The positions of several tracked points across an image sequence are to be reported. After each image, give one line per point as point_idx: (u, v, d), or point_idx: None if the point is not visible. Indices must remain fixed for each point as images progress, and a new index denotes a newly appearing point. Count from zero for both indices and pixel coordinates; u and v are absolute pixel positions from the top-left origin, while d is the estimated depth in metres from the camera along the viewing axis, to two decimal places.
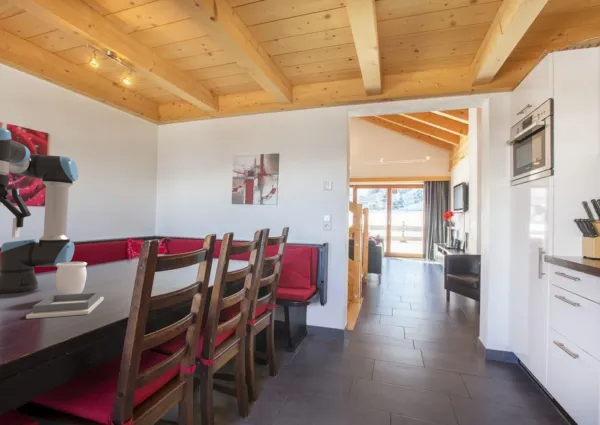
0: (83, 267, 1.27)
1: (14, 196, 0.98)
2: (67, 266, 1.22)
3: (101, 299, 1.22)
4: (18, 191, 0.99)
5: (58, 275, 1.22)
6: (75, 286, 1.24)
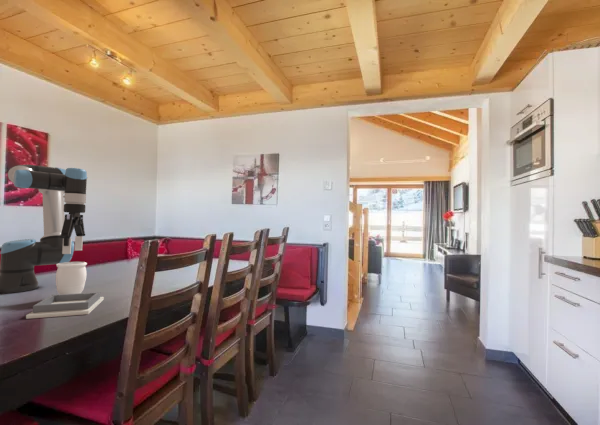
0: (83, 267, 1.27)
1: None
2: (67, 266, 1.22)
3: (101, 299, 1.22)
4: (68, 216, 1.21)
5: (58, 275, 1.22)
6: (75, 286, 1.24)
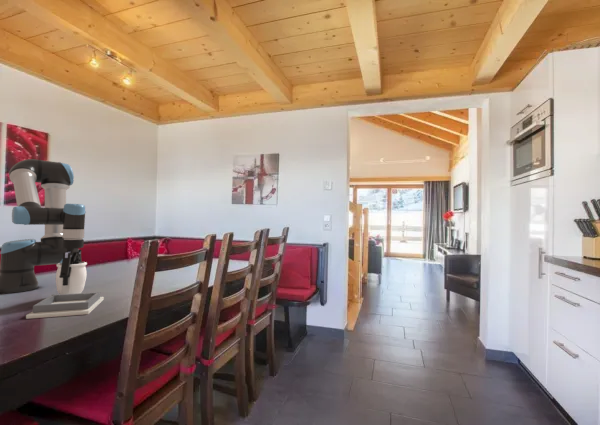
0: (83, 267, 1.27)
1: None
2: None
3: (101, 299, 1.22)
4: (67, 254, 1.20)
5: (58, 275, 1.22)
6: (75, 286, 1.24)
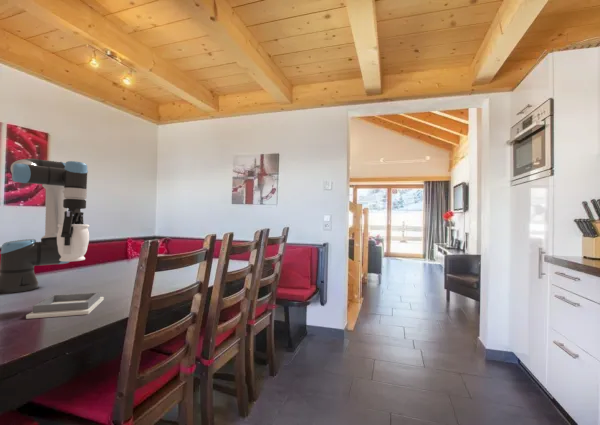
0: (86, 228, 1.21)
1: None
2: None
3: (101, 299, 1.22)
4: (68, 213, 1.14)
5: (59, 235, 1.15)
6: (77, 247, 1.17)
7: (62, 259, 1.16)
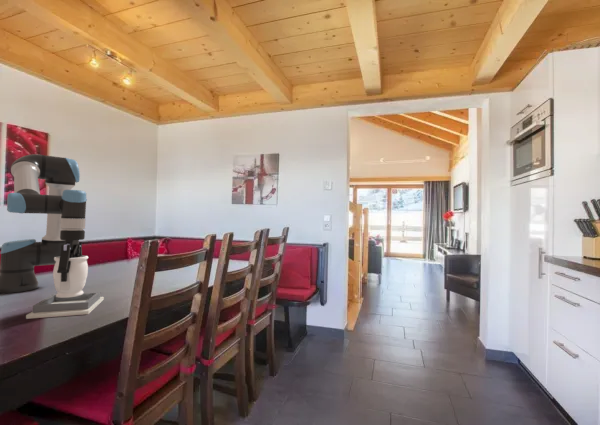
0: (84, 261, 1.13)
1: None
2: None
3: (101, 299, 1.22)
4: (65, 247, 1.06)
5: (56, 270, 1.08)
6: (75, 282, 1.10)
7: (59, 295, 1.08)
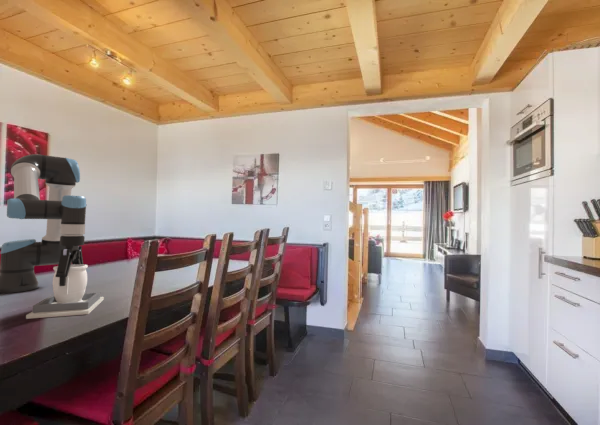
0: (83, 270, 1.13)
1: None
2: None
3: (101, 299, 1.22)
4: (65, 251, 1.06)
5: (55, 280, 1.08)
6: (74, 292, 1.10)
7: None
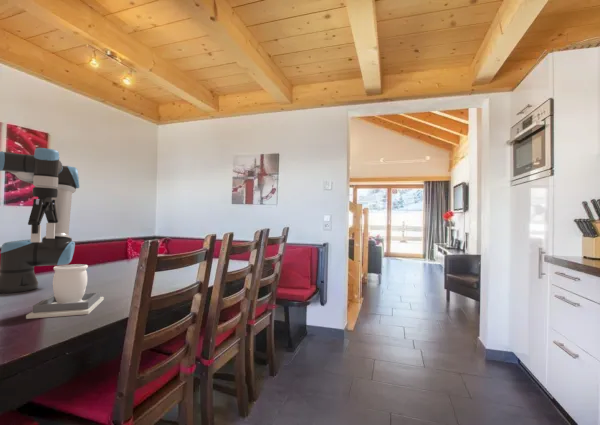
0: (84, 270, 1.13)
1: None
2: (66, 269, 1.08)
3: (101, 299, 1.22)
4: (38, 201, 1.10)
5: (55, 280, 1.08)
6: (74, 292, 1.10)
7: None
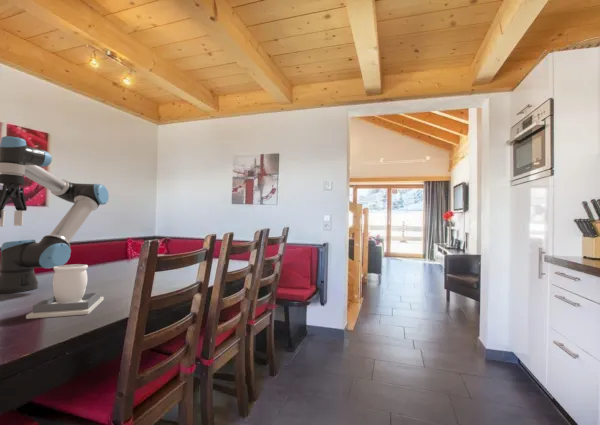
0: (84, 270, 1.13)
1: None
2: (66, 269, 1.08)
3: (101, 299, 1.22)
4: (1, 186, 1.13)
5: (55, 280, 1.08)
6: (75, 292, 1.10)
7: None
